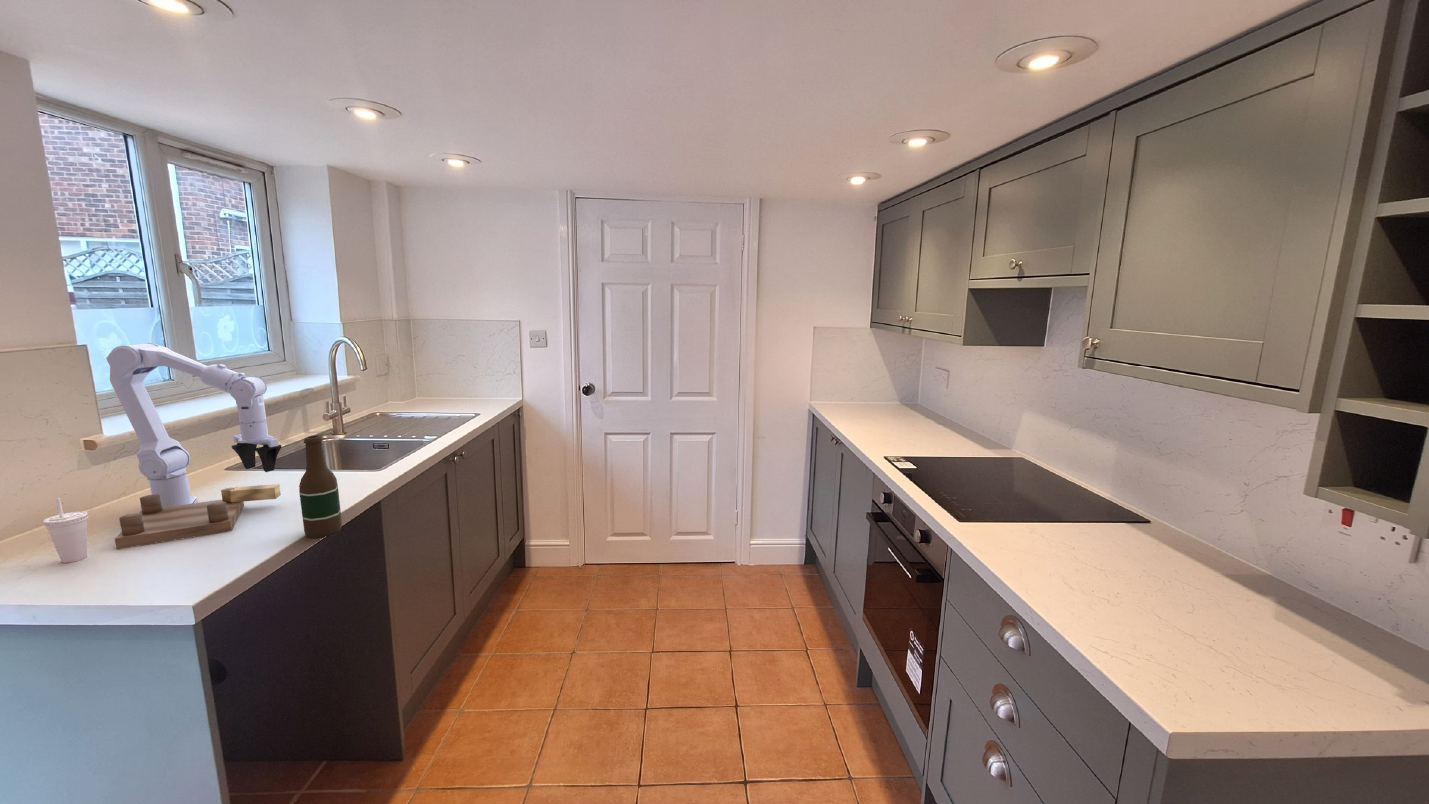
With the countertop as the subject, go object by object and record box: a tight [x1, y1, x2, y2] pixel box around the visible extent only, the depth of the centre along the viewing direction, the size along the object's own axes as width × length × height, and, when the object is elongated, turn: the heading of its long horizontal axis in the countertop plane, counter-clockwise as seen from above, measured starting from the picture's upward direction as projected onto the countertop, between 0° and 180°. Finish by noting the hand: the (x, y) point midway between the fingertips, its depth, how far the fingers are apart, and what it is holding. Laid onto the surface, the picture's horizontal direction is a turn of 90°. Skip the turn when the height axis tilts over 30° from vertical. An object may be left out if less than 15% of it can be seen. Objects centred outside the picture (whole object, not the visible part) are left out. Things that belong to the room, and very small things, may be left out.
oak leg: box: [220, 483, 282, 503], centre depth 151 cm, size 12×3×3 cm, turn 108°
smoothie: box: [42, 497, 90, 564], centre depth 120 cm, size 6×6×14 cm
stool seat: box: [114, 494, 245, 550], centre depth 139 cm, size 20×20×6 cm
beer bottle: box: [298, 435, 343, 539], centre depth 135 cm, size 8×8×24 cm
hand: (259, 469), depth 154 cm, fingers open, 7 cm apart
